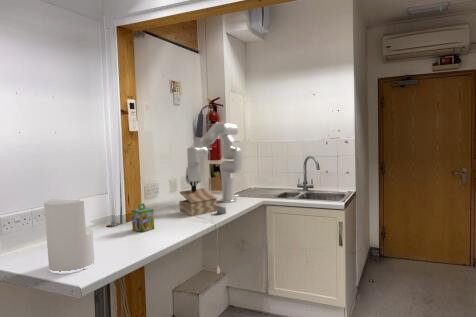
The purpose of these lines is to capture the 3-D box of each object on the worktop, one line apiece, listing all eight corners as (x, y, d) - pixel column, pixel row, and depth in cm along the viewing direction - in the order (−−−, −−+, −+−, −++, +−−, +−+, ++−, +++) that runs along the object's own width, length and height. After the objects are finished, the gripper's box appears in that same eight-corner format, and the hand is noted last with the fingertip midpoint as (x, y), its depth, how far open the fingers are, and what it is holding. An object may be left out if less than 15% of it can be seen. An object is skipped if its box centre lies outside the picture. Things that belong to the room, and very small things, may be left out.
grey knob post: (222, 211, 238) (222, 204, 238) (227, 213, 233) (227, 205, 233) (215, 213, 234) (214, 206, 234) (220, 214, 230) (220, 207, 229)
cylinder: (71, 276, 135) (66, 205, 133) (39, 271, 141) (33, 203, 139) (103, 260, 151) (99, 197, 149) (73, 257, 157) (69, 195, 155)
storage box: (203, 207, 254) (203, 196, 253) (216, 211, 241) (216, 199, 241) (179, 212, 241) (179, 201, 241) (192, 216, 229) (191, 204, 228)
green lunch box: (141, 232, 194) (140, 206, 192) (131, 230, 199) (130, 204, 198) (155, 228, 201) (153, 203, 200) (145, 226, 206) (143, 202, 205)
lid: (203, 189, 252) (204, 187, 252) (216, 199, 241) (216, 198, 240) (179, 192, 239) (179, 191, 239) (191, 204, 228) (191, 202, 228)
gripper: (199, 164, 249) (200, 189, 250) (180, 165, 240) (181, 192, 241) (205, 164, 243) (205, 190, 244) (186, 165, 234) (187, 193, 235)
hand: (193, 191), depth 242 cm, fingers closed
